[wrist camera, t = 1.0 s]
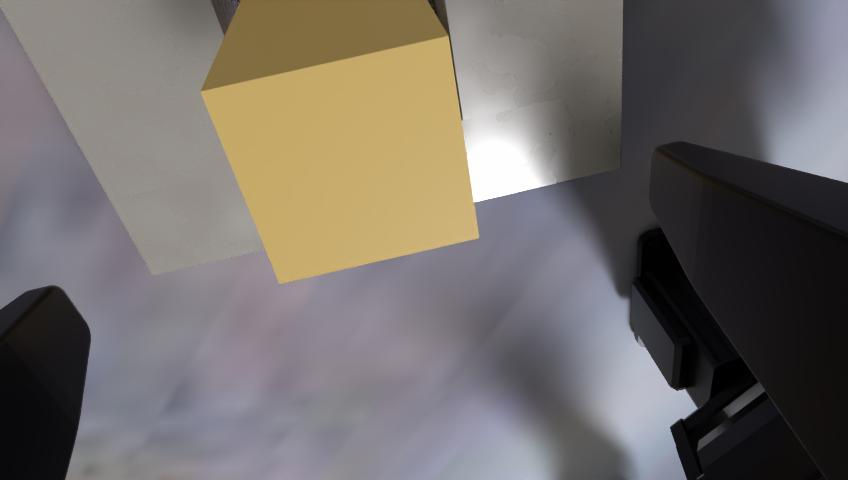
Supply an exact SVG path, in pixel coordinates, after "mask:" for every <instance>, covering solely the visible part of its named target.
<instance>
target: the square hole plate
mask: <svg viewBox="0 0 848 480" xmlns="http://www.w3.org/2000/svg"><path fill="white" fill-rule="evenodd" d="M434 1H435V7H436V13H437V17H438V19H439V21H440V22H441V24H442V26H443V27H444V29H445V31H446V32H447V34H448V36H449V43H450V49H451V56H452V62H453V69H454V75H455V82H456V88H457V95H458V101H459V108H460V114H461V121H462V127H463V134H464V141H465V147H466V154H467V160H468V167H469V173H470V180H471V186H472V193H473V199H474V202H477V201H481V200H486V199H490V198H494V197H499V196H503V195H508V194H512V193H516V192H521V191H525V190H530V189H534V188H538V187H543V186H547V185H551V184H556V183H560V182H565V181H569V180H573V179H578V178H582V177H586V176H591V175H595V174H600V173H604V172H608V171H613V170H617V169H621V114H622V44H623V0H434ZM0 7H1V9H2V11H3V13H4V14H5V16H6V18H7V20H8V22H9V23H10V25H11V27H12V29H13V30H14V32H15V34H16V36H17V37H18V39H19V41H20V43H21V44H22V46H23V48H24V50H25V51H26V53H27V55H28V57H29V58H30V60H31V62H32V64H33V66H34V67H35V69H36V71H37V73H38V74H39V76H40V78H41V80H42V81H43V83H44V85H45V87H46V88H47V90H48V92H49V94H50V95H51V97H52V99H53V101H54V103H55V104H56V106H57V108H58V110H59V111H60V113H61V115H62V117H63V118H64V120H65V122H66V124H67V125H68V127H69V129H70V131H71V132H72V134H73V136H74V138H75V139H76V141H77V143H78V145H79V147H80V148H81V150H82V152H83V154H84V155H85V157H86V159H87V161H88V162H89V164H90V166H91V168H92V169H93V171H94V173H95V175H96V176H97V178H98V180H99V182H100V183H101V185H102V187H103V189H104V191H105V192H106V194H107V196H108V198H109V199H110V201H111V203H112V205H113V206H114V208H115V210H116V212H117V213H118V215H119V217H120V219H121V220H122V222H123V224H124V226H125V228H126V229H127V231H128V233H129V235H130V236H131V238H132V240H133V242H134V243H135V245H136V247H137V249H138V250H139V252H140V254H141V256H142V257H143V259H144V261H145V263H146V264H147V266H148V268H149V270H150V272H151V273H152V275H157V274H162V273H166V272H170V271H175V270H179V269H183V268H188V267H192V266H197V265H201V264H205V263H210V262H214V261H219V260H223V259H227V258H232V257H236V256H240V255H245V254H249V253H254V252H258V251H262V250H266V249H265V247H264V245H263V242H262V240H261V237H260V235H259V233H258V230H257V228H256V225H255V223H254V220H253V218H252V216H251V213H250V211H249V208H248V206H247V204H246V201H245V199H244V196H243V194H242V191H241V189H240V187H239V184H238V182H237V179H236V177H235V175H234V172H233V170H232V167H231V165H230V163H229V160H228V158H227V155H226V153H225V150H224V148H223V146H222V143H221V141H220V138H219V136H218V134H217V131H216V129H215V126H214V124H213V121H212V119H211V117H210V114H209V112H208V109H207V107H206V105H205V102H204V100H203V97H202V95H201V92H200V91H201V89H202V86H203V84H204V82H205V80H206V77H207V75H208V73H209V70H210V68H211V66H212V64H213V61H214V59H215V57H216V55H217V52H218V50H219V48H220V46H221V43H222V41H223V39H224V37H225V34H226V32H227V30H228V27H229V25H230V23H231V21H232V18H233V16H234V14H235V11H234V8H233V5H232V3H231V0H0Z"/></svg>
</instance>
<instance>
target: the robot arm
mask: <svg viewBox="0 0 848 480" xmlns="http://www.w3.org/2000/svg"><path fill="white" fill-rule="evenodd" d="M649 201H650V205H651V208H652V210H653V212H654V214H655V216H656V218H657V220H658V222H659V224H660V226H661V228H657V229H653V230H649V231H647V232H645V233H643V234H642V235H641V236H640V238H639V240H638V249H637V277H636V278H635V279H634V281H633V282H632V295H631V324H632V326H633V327H634V329H635V333H634V336H635V339H636V341H637V342H638V344H639V345H640V346H642V347H646V349H647V350H648V352H649V353H650V355H651V357H652V358H653V360H654V361H655V363H656V365H657V366H658V368H659V370H660V371H661V373H662V374H663V376H664V378H665V379H666V381H667V383H668V384H669V386H670V387H671V388H673V389H675V390H677V391H678V390H683V389H686V391H687V393H688V394H689V396H690V397H691V399H692V400H693V402H694V403H695V405H696V407H697V408H698V409H697V410H695V411H694V412H693V413H691V414H690V415H689V416H688V417H686V418H685V419H680V420H678V421H677V422H676V423H675V424H673V425H672V426H671V427H670V429H671V432H672V435H673V438H674V441H675V444H676V449H677V452H678V455H679V458H680V460H681V463H682V466H683V469H684V472H685V475H686V478H687V480H848V183H846V182H842V181H838V180H834V179H830V178H826V177H822V176H818V175H814V174H810V173H806V172H802V171H798V170H794V169H790V168H786V167H782V166H779V165H775V164H771V163H767V162H763V161H759V160H755V159H751V158H747V157H743V156H739V155H735V154H731V153H727V152H723V151H719V150H715V149H711V148H707V147H703V146H699V145H695V144H691V143H687V142H683V141H677V142H673V143H668V144H664V145H660V146H657V147H655V148H654V149H653V150H652V153H651V156H650V174H649ZM654 240H655V241H654ZM651 241H654V242H653V243H652V244H650V245H648V244H649V243H650V242H651ZM90 343H91V334H90V329H89V327H88V325H87V323H86V321H85V320H84V318H83V317H82V315H81V314H80V313H79V311H78V310H77V308H76V307H75V305H74V304H73V302H72V301H71V300H70V298H69V297H68V295H67V294H66V293H65V291H64V290H63V289H61V288H60V287H58V286H54V285H51V286H46V287H42V288H37V289H33V290H29V291H27V292H25V293H23V294H22V295H20V296H19V297H18V298H16V299H15V300H13V301H12V302H11V303H9V304H8V305H6V306H5V307H3V308H2V309H1V310H0V480H65V479H66V475H67V471H68V467H69V464H70V460H71V456H72V452H73V448H74V444H75V440H76V436H77V431H78V426H79V420H80V415H81V408H82V401H83V393H84V386H85V379H86V372H87V364H88V357H89V350H90Z"/></svg>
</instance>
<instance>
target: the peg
mask: <svg viewBox="0 0 848 480" xmlns="http://www.w3.org/2000/svg"><path fill="white" fill-rule="evenodd" d="M200 92H201V95H202V97H203V100H204V102H205V105H206V107H207V109H208V112H209V114H210V117H211V119H212V121H213V124H214V126H215V129H216V131H217V134H218V136H219V138H220V141H221V143H222V146H223V148H224V150H225V153H226V155H227V158H228V160H229V163H230V165H231V167H232V170H233V172H234V175H235V177H236V179H237V182H238V184H239V187H240V189H241V191H242V194H243V196H244V199H245V201H246V204H247V206H248V208H249V211H250V213H251V216H252V218H253V220H254V223H255V225H256V228H257V230H258V233H259V235H260V237H261V240H262V242H263V245H264V247H265V249H266V252H267V254H268V257H269V259H270V262H271V264H272V266H273V269H274V271H275V274H276V276H277V278H278V281H279V283H280V284H282V283H286V282H290V281H295V280H299V279H303V278H308V277H312V276H316V275H321V274H325V273H330V272H334V271H338V270H343V269H347V268H351V267H356V266H360V265H364V264H369V263H373V262H377V261H382V260H386V259H391V258H395V257H399V256H404V255H408V254H412V253H417V252H421V251H425V250H430V249H434V248H439V247H443V246H447V245H452V244H456V243H460V242H465V241H469V240H473V239H478V238H479V232H478V225H477V219H476V212H475V206H474V199H473V193H472V186H471V180H470V173H469V167H468V160H467V154H466V147H465V141H464V134H463V127H462V121H461V114H460V108H459V101H458V95H457V88H456V82H455V75H454V69H453V62H452V56H451V49H450V43H449V36H448V34H447V32H446V31H445V29H444V27H443V26H442V24H441V22H440V21H439V19H438V17H437V16H436V14H435V12H434V11H433V9H432V7H431V6H430V4H429V2H428V1H427V0H240V3H239V5H238V7H237V9H236V12H235V14H234V16H233V18H232V21H231V23H230V25H229V27H228V30H227V32H226V34H225V37H224V39H223V41H222V43H221V46H220V48H219V50H218V52H217V55H216V57H215V59H214V61H213V64H212V66H211V68H210V70H209V73H208V75H207V77H206V80H205V82H204V84H203V86H202V89H201V91H200Z"/></svg>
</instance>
